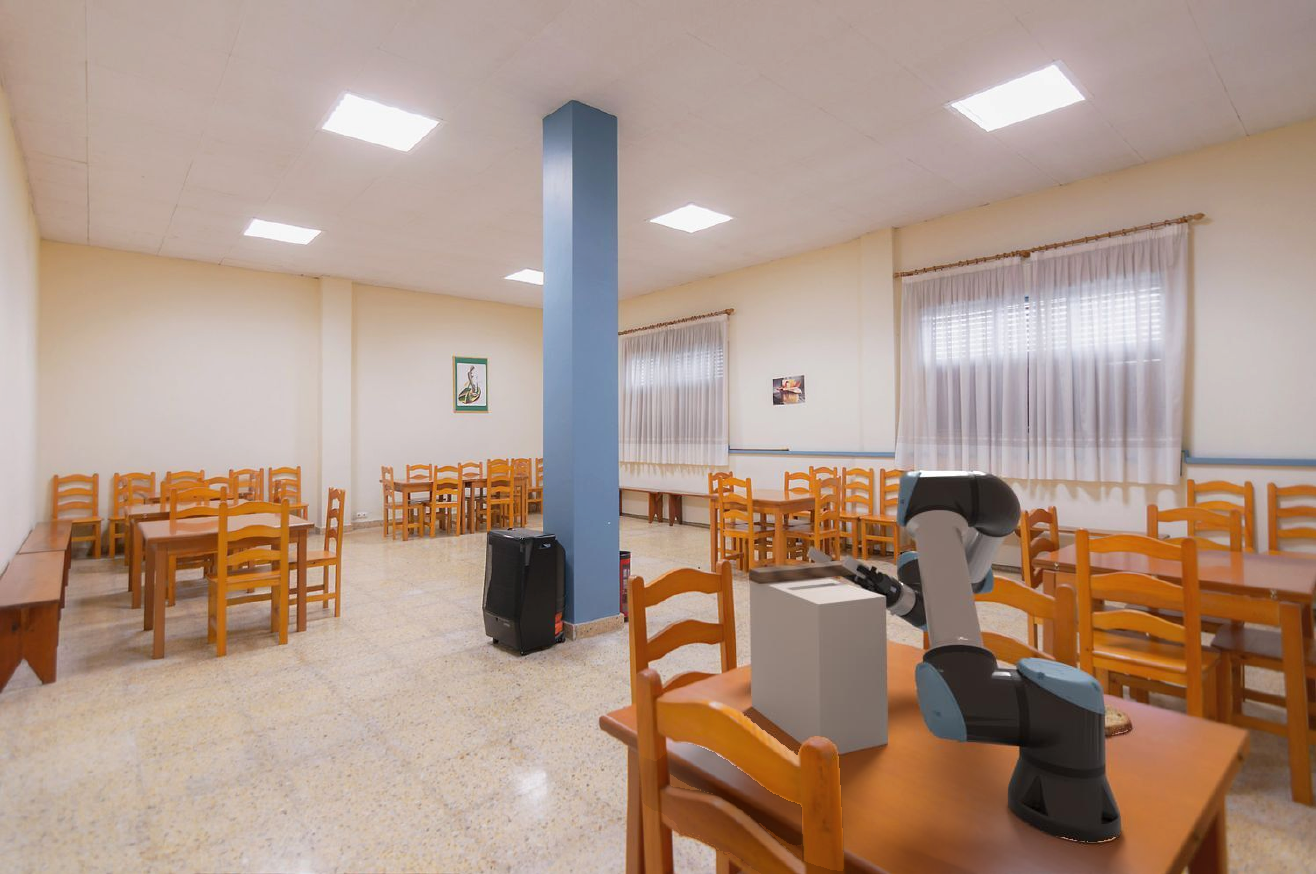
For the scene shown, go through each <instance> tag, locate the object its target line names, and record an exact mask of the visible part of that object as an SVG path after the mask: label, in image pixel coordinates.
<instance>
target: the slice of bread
mask: <svg viewBox="0 0 1316 874" xmlns="http://www.w3.org/2000/svg"><path fill="white" fill-rule="evenodd" d="M1104 705H1105V709H1106V713H1105V735H1106V736H1113V735H1112V734H1115V733H1118V732H1124V731H1126V730H1129V729H1130V728H1131V727H1132V728H1133V724H1132V721H1131V718H1130V716H1129V715H1128V713H1125V712H1124V711H1123V710H1121V709H1119V708H1117V707H1115V706H1112V705H1108V704H1107V705H1106V704H1104ZM1132 728H1131V729H1132ZM1129 731H1130V730H1129ZM1108 734H1109V735H1108Z"/></svg>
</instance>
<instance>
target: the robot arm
mask: <svg viewBox="0 0 1316 874" xmlns="http://www.w3.org/2000/svg"><path fill="white" fill-rule="evenodd" d="M896 505H897V506H896V524H897V525H898V526H899V527H902V528H905V531H906V534H907V536H908V538H910V539H911V540H913V541H914V542H915V546H916V551H906V552H903V553H902V554H900V555H898V557H897V559H896V575H897V579H896V578H895V577H893V576H891V575H890V574H888V573H883V572H881V571H877V570H878V568H877V567H876V566H874V565H872V566H871V567H869V566H867V565H866V564H864V563H863V562H861V561H859V560H857V559H856V558H854V557H852V556H851V555H849V554H846V556H845V558H844V559H843V560H844V562H843V565H842V566H843V567H845V568H847V569H848V570H850V571H852V572H853V573H855V574H854V575H844V576H840V577H841V578H843V579H846V580H847V581H849V582H851V583H853V584H854V586H859V587H860V588H861V589H864V590H867V591H871V592H874V593H877V594H880V595H884V596H886V611H889V614H890V616H893V617H894V616H895V615H896V617H899V618H900V619H902V620H904V621H905V622H907V623H909V624H910V625H912V627H914V628H917V629H918V630H921V631H924V632H927V633H928V640H929V641H928V642H929V648H928V649H927V650H925V652H924V653H923V654H922V661H921V662H919V663H917V664H916V665H915V670H914V679H915V686H916V694H917V695H916V696H917V700H918V705H919V709H920V712H921V715H922V718H923V721H924V724H925V726H926V727H927V729H928V731H929V732H930V733H931V735H933V736H935V737H936V738H939V739H943V740H951V741H955V742H958V743H966V742H967V743H976V744H977V743H979V744H990V745H999V746H1009V747H1018V750H1019V751H1018V759H1017V761H1016V763H1015V766H1014V769H1013V771H1012V774H1011V778H1010V780H1009V783H1008V785H1007V804H1008V807H1009V808H1010V810H1011V811H1012V813H1014V814H1015V815H1016V817H1018V818H1019V819H1020V820H1021V819H1022V820H1021V821H1023V822H1024V823H1026V824H1027V823H1028V824H1027V825H1029V826H1030V825H1031V827H1032V826H1033V828H1034V829H1036V830H1038V831H1041V832H1042V831H1043V833H1045V834H1047V835H1051V836H1053V837H1056V836H1058V837H1057V838H1059V837H1065V838H1068V839H1073V840H1077V841H1085V842H1087V841H1088V842H1098V841H1104V840H1108V839H1112V838H1113V837H1117V836H1118V835H1119V834H1120V832H1121V833H1122V818H1121V817H1122V815H1121V811H1120V809H1119V806H1118V804H1117V801H1116V798H1115V796H1114V793H1113V790H1112V788H1111V785H1110V783H1109V780H1108V777H1107V772H1106V771H1107V770H1106V769H1107V767H1106V764H1107V763H1106V761H1107V760H1106V736H1105V713H1106V709H1105V705H1106V704H1105V698H1104V697H1105V696H1104V689H1103V687H1102V684H1101V683H1100V682H1099V680H1098V679H1096V678H1095V677H1094V676H1093V675H1091V674H1089V673H1088V672H1085V671H1084V670H1081V669H1079V668H1076V667H1074V666H1071V665H1069V664H1065V663H1062V662H1060V661H1059V662H1058V661H1055V660H1049V659H1047V658H1046V659H1044V658H1041V657H1040V658H1039V657H1038V658H1037V657H1022V658H1020V659H1019V660H1018V661H1017V663H1016V664H1015V669H1014V668H1013V669H1012V668H1004V667H1003V668H1002V667H999V666H998V661H997V657H996V655H995V653H994V652H993V651H992V650H991V649H989V648H988V647H986V646H984V641H983V636H982V632H981V627H980V623H979V622H980V621H979V617H978V611H977V606H976V602H975V601H976V600H975V596H974V595H978V594H990V593H991V592H992V591H993V589H994V584H995V582H994V581H995V580H994V571H993V569H992V565H993V562H994V560H995V558H996V557H997V555H998V553H999V550H1000V548H1001V547H1002V544H1003V542H1004V541H1005V539H1006V537H1008V536H1010V535H1012V534H1013V533H1014V532H1015V530H1016V529H1017V527H1018V525H1019V524H1020V520H1021V515H1022V509H1021V503H1020V501H1019V498H1018V496H1017V494H1016V493H1015V491H1014V490H1013V489H1012V487H1011V486H1010V485H1009V484H1008V483H1007V482H1005V481H1004V480H1003V479H1001V478H1000V477H998V476H996V475H994V474H992V473H989V472H986V471H981V470H943V471H942V470H923V469H920V470H913V471H912V470H911V471H905V472H904V473H902V474H901V475H900V478H899V484H898V495H897V504H896ZM806 557H807V558H809V559H811V560H812V561H814V563H819V562H830V561H836V560H834V559H833V558H832V557H831V556H829V555H828V554H826V553H824V552H823V551H821V550H820V549H818V548H816V547H814V546H812V545H810V546H809V550H808V551H807V554H806ZM1120 835H1121V834H1120ZM1120 835H1119V836H1120ZM1117 838H1118V837H1117Z"/></svg>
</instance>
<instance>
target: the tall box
mask: <svg viewBox="0 0 1316 874" xmlns="http://www.w3.org/2000/svg"><path fill="white" fill-rule="evenodd" d="M749 614H750V615H749V620H750V621H749V625H750V627H749V629H750V630H749V632H750V633H749V634H750V638H749V639H750V700H751V702H750V703H751V705H750V706H751V708H752V709H754V710H755V711H757V712H758V713H759V714H761V715H762V716H763V717H764V718H766V719H767V720H769V721H770V723H771V722H772V723H773V724H774V725H775V726H777V727H778V728H780V730H782V731H783V732H785V733H786V734H787V735H788V736H790V737H791V738H792V739H794V740H795V741H797V742H798V743H799V744H800V745H802V743H803V742H805V741H806V740H808V739H809V738H810V737H814V736H820V737H825V738H828V739H829V740H830V741H831V742H832V743H833V744H835V745H836V747H837V751H838V753H839V755H838V756H840V755H843V754H848V753H852V752H856V751H857V752H858V751H860V750H864V749H870V748H873V747H878V746H882V745H888V744H889V709H888V707H889V706H888V705H889V704H888V703H889V701H888V700H889V699H888V698H889V696H888V695H889V694H888V693H889V692H888V645H887V644H888V642H887V640H888V638H887V636H888V633H887V609H886V596H884V595H880V594H877V593H874V592H871V591H868V590H865V589H863V588H861V587H858V586H856V585H851V584H848V583H846V582H845V583H844V582H841V581H838V580H835V579H832V578H830V577H825V578H815V579H805V580H795V581H785V582H776V583H766V584H758V583H756V582H753V581H750V580H749Z"/></svg>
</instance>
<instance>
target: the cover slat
mask: <svg viewBox="0 0 1316 874" xmlns="http://www.w3.org/2000/svg"><path fill="white" fill-rule="evenodd" d="M844 560H845V559H841V560H835V561H830V562H819V563H817V562H810V563H800V564H789V565H787V564H786V565H776V566H765V567H756V568H754V567H753V568H749V569H748V577H749V578H748V580H749V582H750V581H753V582H756V583H758V584H766V583H776V582H785V581H795V580H805V579H815V578H832V577H833V578H834V577H841V576H844V575H854V574H855V573H853V572H852V571H850V570H848V569H847V568H845V567H843V566H842V565H843V562H844Z"/></svg>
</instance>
